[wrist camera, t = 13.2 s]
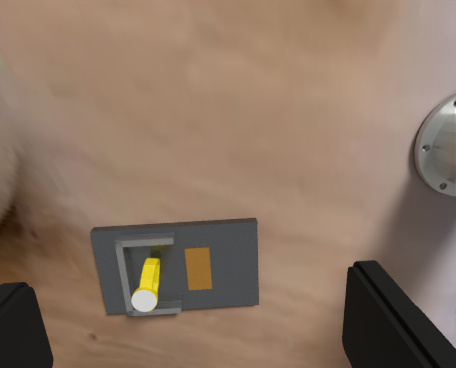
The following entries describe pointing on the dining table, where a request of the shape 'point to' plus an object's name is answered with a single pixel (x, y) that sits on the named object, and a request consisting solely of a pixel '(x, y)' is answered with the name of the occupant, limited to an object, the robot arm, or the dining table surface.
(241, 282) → the gray fixture board
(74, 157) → the dining table surface
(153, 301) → the watch
